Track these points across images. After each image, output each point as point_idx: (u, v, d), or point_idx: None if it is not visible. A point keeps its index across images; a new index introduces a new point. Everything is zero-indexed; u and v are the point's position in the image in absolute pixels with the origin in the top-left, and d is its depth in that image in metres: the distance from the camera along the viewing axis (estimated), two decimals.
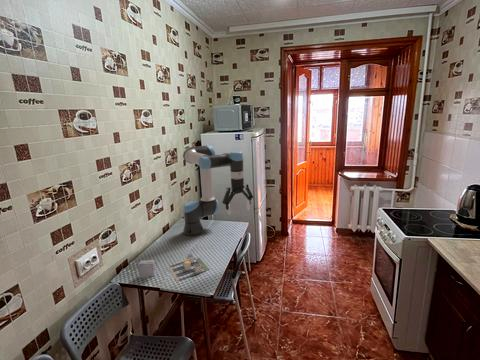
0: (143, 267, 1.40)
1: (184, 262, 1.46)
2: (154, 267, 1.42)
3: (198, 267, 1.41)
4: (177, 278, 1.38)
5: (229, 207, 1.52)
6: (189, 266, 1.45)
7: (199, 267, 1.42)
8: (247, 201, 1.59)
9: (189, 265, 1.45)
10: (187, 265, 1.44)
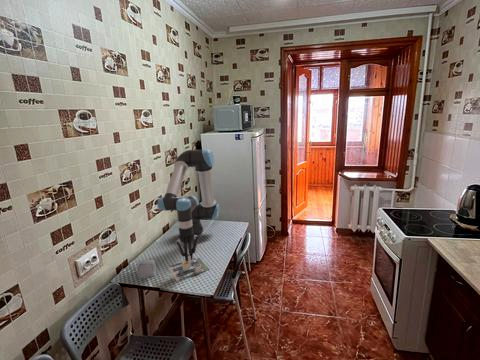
0: (143, 267, 1.40)
1: (182, 263, 1.45)
2: (154, 267, 1.42)
3: (198, 267, 1.41)
4: (177, 278, 1.38)
5: (188, 259, 1.44)
6: (187, 267, 1.44)
7: (199, 267, 1.42)
8: None
9: (187, 266, 1.44)
10: (185, 266, 1.44)
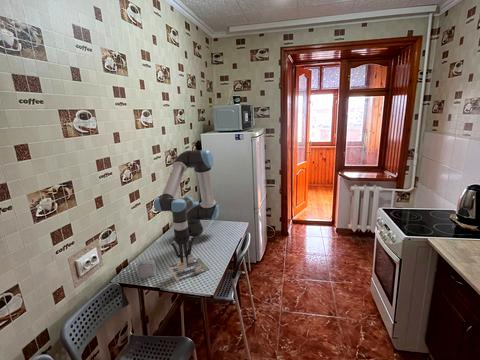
0: (143, 267, 1.40)
1: (177, 264, 1.44)
2: (154, 267, 1.42)
3: (198, 267, 1.41)
4: (177, 278, 1.38)
5: (184, 260, 1.43)
6: (182, 268, 1.43)
7: (199, 267, 1.42)
8: None
9: (182, 267, 1.43)
10: (180, 267, 1.42)
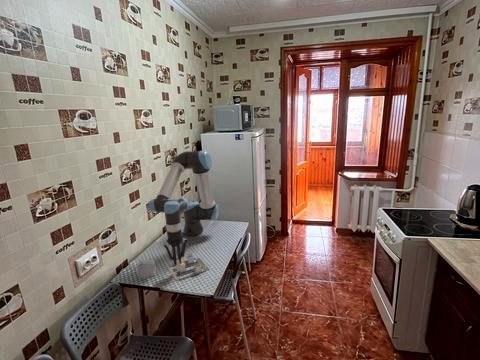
0: (143, 267, 1.40)
1: None
2: (154, 267, 1.42)
3: (198, 267, 1.41)
4: (177, 278, 1.38)
5: (177, 263, 1.41)
6: (184, 268, 1.43)
7: (199, 267, 1.42)
8: None
9: (184, 267, 1.43)
10: (182, 267, 1.43)
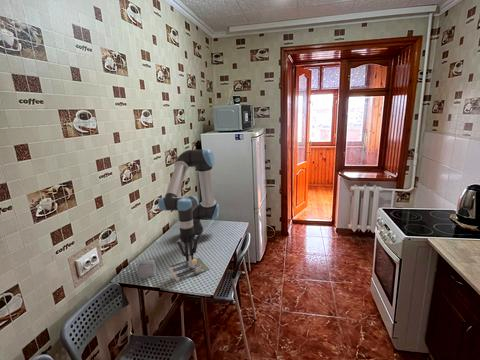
0: (143, 267, 1.40)
1: None
2: (154, 267, 1.42)
3: (198, 267, 1.41)
4: (177, 278, 1.38)
5: (189, 259, 1.44)
6: None
7: (199, 267, 1.42)
8: None
9: (195, 263, 1.47)
10: (194, 263, 1.46)
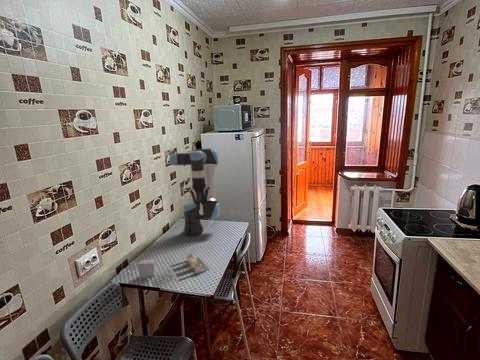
0: (143, 267, 1.40)
1: (191, 260, 1.48)
2: (154, 267, 1.42)
3: (198, 267, 1.41)
4: (177, 278, 1.38)
5: (200, 207, 1.58)
6: None
7: (199, 267, 1.42)
8: None
9: (196, 263, 1.47)
10: (194, 263, 1.46)
